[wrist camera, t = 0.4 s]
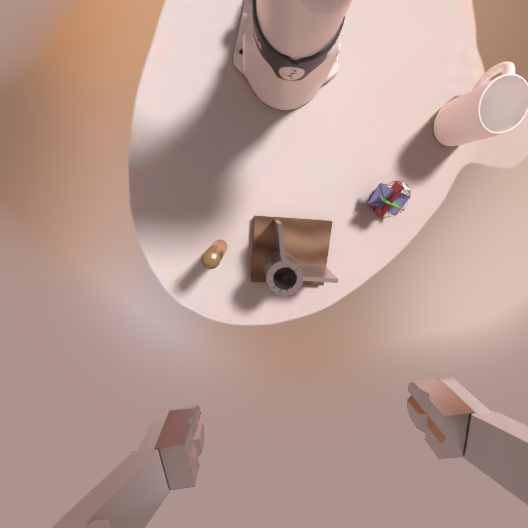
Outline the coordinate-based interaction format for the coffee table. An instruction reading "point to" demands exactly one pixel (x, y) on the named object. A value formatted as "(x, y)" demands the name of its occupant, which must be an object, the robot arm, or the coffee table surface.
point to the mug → (484, 108)
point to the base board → (290, 243)
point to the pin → (214, 254)
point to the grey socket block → (291, 269)
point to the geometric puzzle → (389, 198)
